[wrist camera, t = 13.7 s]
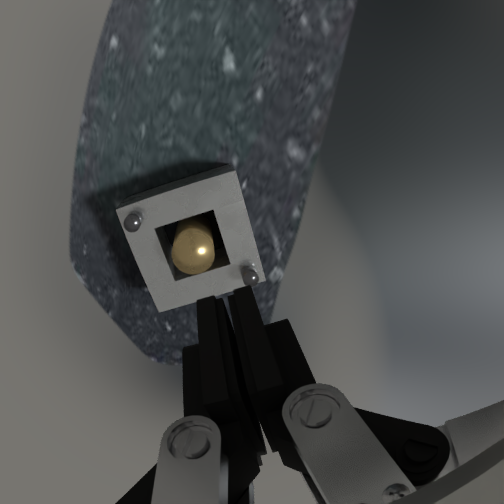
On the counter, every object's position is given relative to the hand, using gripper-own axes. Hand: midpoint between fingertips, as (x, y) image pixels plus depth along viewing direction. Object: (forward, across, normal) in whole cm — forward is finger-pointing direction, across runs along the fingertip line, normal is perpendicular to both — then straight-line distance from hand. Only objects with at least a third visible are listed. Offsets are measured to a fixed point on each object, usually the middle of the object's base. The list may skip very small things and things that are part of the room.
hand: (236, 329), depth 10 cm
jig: (+27, +3, +6) cm, 28 cm away
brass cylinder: (+27, +3, +6) cm, 28 cm away
